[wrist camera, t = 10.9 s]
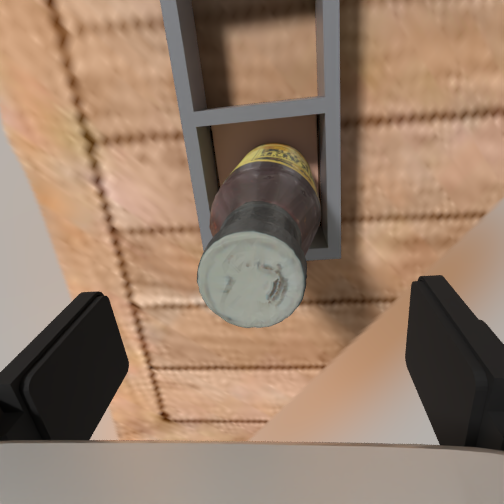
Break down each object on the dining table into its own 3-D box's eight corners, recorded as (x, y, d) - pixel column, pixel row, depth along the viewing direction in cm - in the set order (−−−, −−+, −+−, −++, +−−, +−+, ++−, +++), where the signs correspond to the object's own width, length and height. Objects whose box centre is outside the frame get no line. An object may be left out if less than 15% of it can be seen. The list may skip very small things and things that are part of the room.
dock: (327, -84, 24) (338, -125, 19) (332, 235, 33) (341, 258, 29) (168, -58, 25) (144, -90, 21) (216, 243, 34) (206, 267, 30)
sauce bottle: (325, 178, 31) (389, 300, 13) (272, 225, 33) (262, 388, 15) (273, 120, 29) (261, 165, 11) (220, 173, 31) (138, 284, 13)
